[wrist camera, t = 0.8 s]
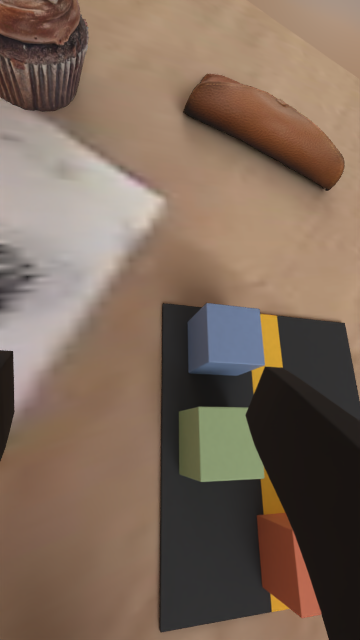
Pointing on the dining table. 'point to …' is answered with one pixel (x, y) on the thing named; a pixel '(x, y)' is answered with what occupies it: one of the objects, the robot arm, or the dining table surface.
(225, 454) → the sage block
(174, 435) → the line mat
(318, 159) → the sunglasses case
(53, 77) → the cupcake
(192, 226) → the dining table surface
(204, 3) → the dining table surface
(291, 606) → the terracotta block
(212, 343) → the blue block
